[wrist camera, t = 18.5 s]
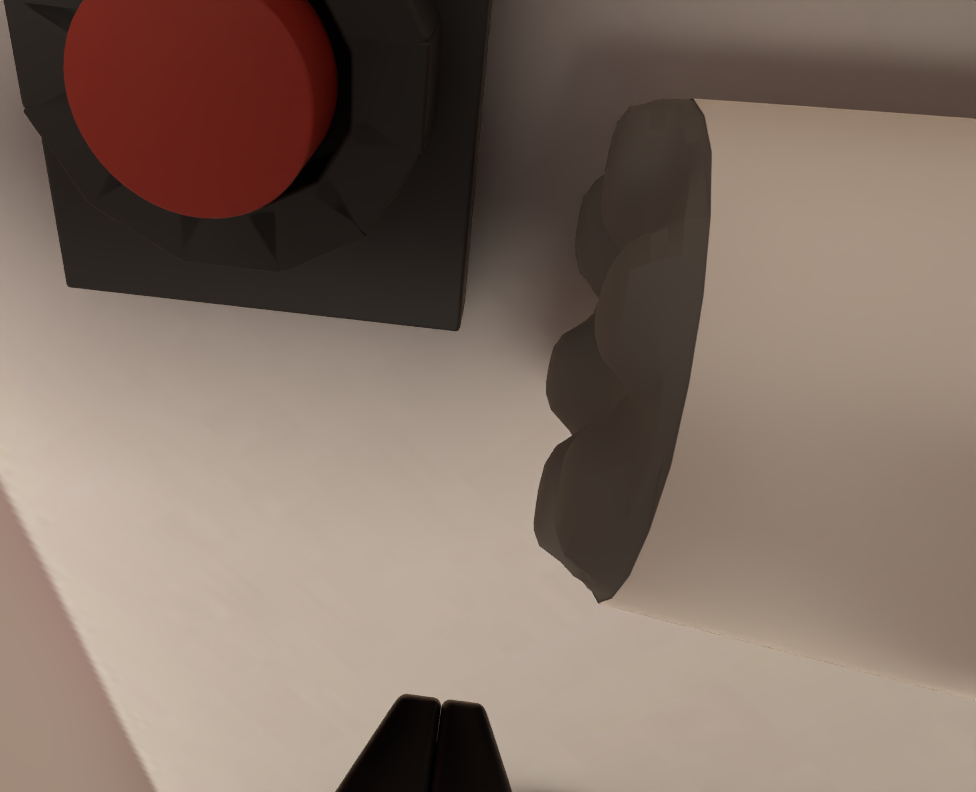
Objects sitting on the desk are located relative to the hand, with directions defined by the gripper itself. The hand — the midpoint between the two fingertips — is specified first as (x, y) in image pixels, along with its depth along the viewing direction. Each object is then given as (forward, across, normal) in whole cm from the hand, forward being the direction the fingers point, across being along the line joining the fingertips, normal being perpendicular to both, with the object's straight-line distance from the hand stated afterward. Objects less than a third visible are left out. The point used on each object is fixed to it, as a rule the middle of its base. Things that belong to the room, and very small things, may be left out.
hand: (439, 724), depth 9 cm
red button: (+9, +5, -4) cm, 11 cm away
